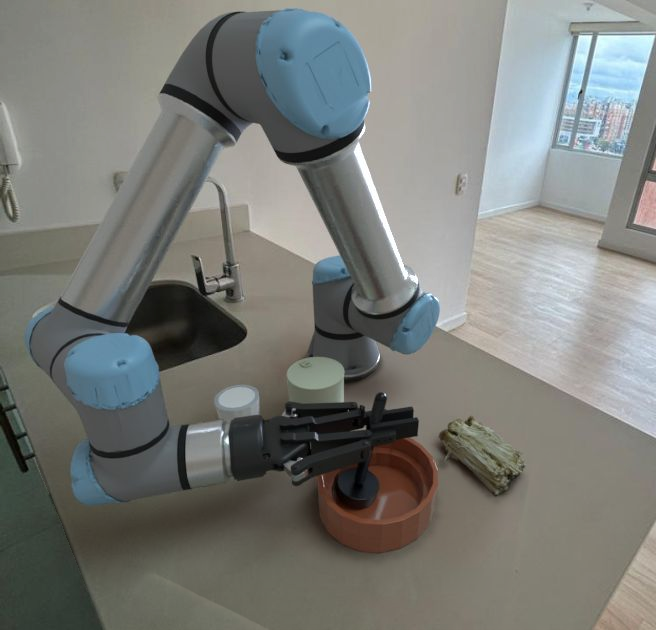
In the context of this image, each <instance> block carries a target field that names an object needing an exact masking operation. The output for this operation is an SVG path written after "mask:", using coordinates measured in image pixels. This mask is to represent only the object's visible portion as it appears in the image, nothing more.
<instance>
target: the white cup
mask: <svg viewBox="0 0 656 630" xmlns="http://www.w3.org/2000/svg"><path fill="white" fill-rule="evenodd" d="M213 405H214V408H215V411H216V414H217V417H218V420H219V419H224V420H226V421H227V423H231V420H233V419H234V418H237V417H245V416H252V415H260V391H259V390H258V389H257V388H256V387H254V386H252V385H249V384H235V385H231V386H228V387H225V388H223V389H222V390H220V391H219V392H217V393H216V395H215V397H214V398H213Z"/></svg>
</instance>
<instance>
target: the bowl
mask: <svg viewBox="0 0 656 630" xmlns="http://www.w3.org/2000/svg"><path fill="white" fill-rule="evenodd" d="M360 441H361V440H360ZM357 465H358V464H354V465H351V466H348V467H345V468H341V469H338V470H335V471H331V472H328V473H325V474H322V475H318V476H316V477H317V497H318V498H317V503H318V512H319V518H320V520H321V522H322V524H323V526H324V528H325V530H326V532H327V533H328V534H330V536H332V537H333V538H334V539H335V540H336V541H337V542H338V543H340V545H343V546H345V547H348V548H351V549H354V550H355V551H358V552H364V553H373V554H374V553H375V554H382V553H386V552H392V551H396V550H400V549H402V548H404V547H405V546H407V545H410V544H411V543H412V542H415V541H416V540H417V539H418V538H420V536H421V535H422V534H423V533H424V532H425V531H426V530H427V529H428V528H429V526H430V523H431V521H432V520H433V519H432V518H433V517H434V514H435V509H436V502H437V496H438V486H439V470H438V467H437V464H436V462H435V460H434V457H433V456H432V455H431V453H430V452H429V450H427V448H426V447H425V446H424V445H423V444H421V443H420V442H418V441H416V440H414V439H413V438H412V437H410V438H404V439H398V440H396V441H395V442H393V443H389V444H383V445H378V446H374V450H373V453H372V457H371V461H370V464H369V468H368V471H370V472H372V473H373V474H374V475H375V476H376V477H377V479H378V481H379V490H378V494H377V497H376V499H375V501H374V502H373V503H372V504H371V505H369V506H367V507H363V508H355V507H350V506H348V505H346V504H344V503H343V502H342V501H341V500H340V499H339V498H338V496H337V494H336V485H337V481H338V477H339V475H340V474H341V473H342V472H343V471H345V470H346V469H349V468H356V467H357Z"/></svg>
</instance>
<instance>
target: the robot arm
mask: <svg viewBox="0 0 656 630" xmlns="http://www.w3.org/2000/svg"><path fill="white" fill-rule="evenodd" d="M371 92H372V78H371V72H370V68H369V64H368V61H367V58H366V56H365V53H364V51H363V49H362V47H361V45H360V44H359V42H358V41H357V38H356V37H355V36H354V35H353V33H352V31H350V30H349V28H348V27H346V26H345V25H344V24H343V23H341V22H340V21H339V20H336V19H335V18H333V16H330V15H328V14H325V13H323V12H318V11H309V10H305V9H303V8H297V7H296V8H290V7H288V8H284V9H277V10H276V9H275V10H260V11H229V12H225V13H223V14H220V15H217V16H216V17H214V18H213V19H211V20H209V21H208V22H207V23H206V24H204V26H202V27H201V28H200V29H199V30H198V31H197V32H196V34H195V35H194V36H193V38H192V39H191V40H190V41H189V43H188V44H187V45H186V47H185V48H184V50H183V51H182V53H181V55H180V56H179V58H178V59H177V62H176V63H175V65H174V67H173V68H172V70H171V72H170V73H169V75H168V77H167V79H166V80H165V82H164V84H163V86H162V88H161V89H160V91H159V93H158V95H157V100H158V101H157V102H159V106H160V109H161V112H160V113H159V115H158V117H157V119H156V120H155V122H154V124H153V126H152V128H151V130H150V132H149V133H148V135H147V137H146V139H145V141H144V143H143V145H142V146H141V149H140V150H139V152H138V153H137V154H136V155H137V156H136V157H135V159H134V161H133V163H132V164H131V167H130V169H129V170H128V172H127V174H126V176H125V177H124V179H123V181H122V183H121V185H120V187H119V188H118V190H117V192H116V194H115V196H114V197H113V199H112V201H111V203H110V205H109V207H108V208H107V210H106V212H105V214H104V216H103V218H102V219H101V221H100V223H99V225H98V226H97V229H96V230H95V233H94V234H93V236H92V238H91V240H90V242H89V243H88V245H87V247H86V249H85V250H84V253H83V255H82V256H81V258H80V260H79V262H78V264H77V265H76V267H75V269H74V271H73V272H72V275H71V276H70V278H69V280H68V282H67V284H66V285H65V287H64V289H63V291H62V293H61V295H60V297H59V298H58V300H57V302H56V303H55V305H54V306H51V307H49V308H45V309H44V310H42V311H40V312H39V313H37V314H36V315H35V316H33V317H32V318H31V319H30V320H29V321H28V323H27V325H26V326H25V329H24V334H23V339H24V340H23V341H24V345H25V347H26V349H27V350H28V354H29V356H30V358H31V360H32V362H34V363H35V365H36V366H37V367H38V368H39V369H40V370H42V371H43V372H44V373H45V374H46V375H47V377H49V378H50V380H51V381H52V382H53V384H54V385H55V386H56V387H57V389H58V390H59V391H60V393H62V395H63V396H64V398H66V400H67V401H68V402H69V403H70V405H72V407H73V408H74V409H75V410H76V413H77V414H78V417H79V418H80V421H81V423H82V426H83V429H84V431H85V434H86V437H87V438H85V439H84V440H82V441H80V442H79V444H78V445H77V446H76V448H75V449H74V452H73V454H72V458H71V462H70V468H69V469H70V470H69V476H70V478H71V490H72V494H73V495H74V498H75V499H76V500H77V501H78V502H79V503H81V504H82V505H84V506H100V505H108V504H117V503H119V504H125V503H129V502H132V501H135V500H140V499H144V498H145V499H146V498H150V497H155V496H161V495H166V494H171V493H176V492H182V491H189V490H194V489H200V488H205V487H211V486H217V485H223V484H227V483H228V482H230V479H231V477H233V479H234V481H235V480H236V481H237V482H241V481H247V480H252V479H258V478H262V477H264V476H266V474H267V472H271V471H273V472H279V473H281V472H282V473H283V472H285V473H286V474H287V475H288V477H290V479H291V485H293V487H299V486H301V485H303V484H304V483H306V482H308V481H310V479H312V478H315V477H317V476H318V475H322V474H325V473H328V472H331V471H335V470H338V469H341V468H345V467H348V466H351V465H354V464H358V463H361V462H364V461H367V460H368V459H369V454H370V453H371V448H372V447H373V446H378V445H383V444H389V443H393V442H395V441H396V440H398V439H404V438H416V437H418V436H419V435H418V434H419V424H420V419H419V418H418V416H416V417H414V413H415V410H414V407H413V406H406V407H398V408H393V409H392V408H391V409H387V408H385V409H384V413H383V416H382V420H381V423H376V424H370V430H367V426H368V422H369V418H370V414H371V410H367V411H366V406H365V405H363V404H359V405H358V403H357V402H356V401H344V402H336V403H308V404H302V403H297V402H292V401H289V400H288V401H286V402H285V403H284V411H283V412H282V414H280V415H276V416H274V417H270V418H269V419H265V418H264V417H263V416H262V415H261V414H259V415H252V416H245V417H237V418H234V419H233V420H231V423H227V421H226V420H224V419H219V418H218V419H214V420H207V421H200V422H192V423H188V424H178V425H170V419H169V415H168V410H167V405H166V402H165V396H164V391H163V387H162V383H161V377H160V376H161V372H160V367H159V363H158V362H157V361H156V357H155V355H154V352H153V349H152V346H151V345H150V343H149V342H148V341H147V340H146V339H145V338H143V337H141V336H139V335H137V334H132V335H130V334H129V333H126V331H127V328H128V327H129V324H130V322H131V320H132V319H133V317H134V315H135V313H136V311H137V309H138V308H139V306H140V303H141V302H142V300H143V298H144V297H145V295H146V293H147V291H148V289H149V287H150V286H151V284H152V281H153V280H154V278H155V276H156V275H157V272H158V271H159V268H160V267H161V265H162V263H163V261H164V259H165V257H166V255H167V253H168V252H169V250H170V248H171V246H173V245H172V244H173V243H174V241H175V239H176V237H177V235H178V234H179V231H180V229H181V228H182V226H183V224H184V223H185V221H186V219H187V217H188V215H189V213H190V211H191V209H192V208H193V206H194V204H195V202H196V201H197V198H198V196H199V194H200V193H201V191H202V189H203V187H204V186H205V184H206V181H207V180H208V178H209V176H210V174H211V172H212V170H213V169H214V167H215V165H216V163H217V161H218V159H219V157H220V156H221V154H222V152H223V150H224V149H228V148H233V147H235V146H236V145H237V143H238V141H239V139H240V137H241V135H242V134H243V133H244V131H245V130H246V129H247V128H249V126H251V125H252V124H256V125H260V128H262V131H263V132H264V134H265V136H266V138H267V140H268V142H269V144H270V146H271V148H272V149H273V151H274V153H275V155H276V157H277V159H278V160H279V161H280V162H281V163H284V164H285V165H288V166H289V165H290V166H293V167H296V170H297V172H298V174H299V175H300V178H301V180H302V182H303V183H304V186H305V187H306V189H307V192H308V194H309V196H310V198H311V200H312V201H313V204H314V206H315V208H316V210H317V212H318V214H319V216H320V218H321V220H322V222H323V224H324V227H325V228H326V230H327V232H328V234H329V236H330V238H331V240H332V243H333V244H334V246H335V248H336V250H337V252H338V254H339V255H332V256H328V257H325V258H323V259H320V260H318V261H317V262H316V263H315V264H314V267H313V269H312V280H311V285H312V303H313V322H314V330H313V333H312V336H311V339H310V342H309V345H308V349H307V352H306V358H310V357H326V358H331V359H334V360H336V361H338V362H339V363H340V364H341V365H342V366H343V368H344V371H345V373H344V382H351V381H352V382H353V381H358V380H361V379H363V378H367V377H368V376H370V375H371V374H373V373H374V372H375V371H376V370H377V369H378V367H379V364H380V351H379V347H378V344H377V343H379V344H381V345H383V346H385V347H387V348H388V349H390V350H391V351H392V352H397V353H400V354H402V355H404V356H405V355H411V354H414V353H416V352H419V351H420V350H421V349H422V348H423V347H424V346H425V345H426V344H427V342H428V341H429V339H430V338H431V336H432V334H433V333H434V331H435V329H436V326H437V324H438V321H439V317H440V313H441V305H440V301H439V299H438V298H437V297H436V296H434V295H433V294H432V293H430V292H426V291H424V290H423V289H422V288H421V286H420V283H419V279H418V276H417V274H416V273H415V271H414V269H412V268H411V267H410V266H409V265H407V264H404V263H403V261H402V258H401V256H400V253H399V250H398V247H397V244H396V242H395V239H394V235H393V234H392V231H391V228H390V225H389V222H388V220H387V217H386V214H385V212H384V211H385V210H384V208H383V205H382V203H381V200H380V197H379V194H378V192H377V191H378V190H377V189H376V186H375V183H374V181H373V178H372V176H371V172H370V170H369V167H368V164H367V161H366V159H365V155H364V153H363V149H362V147H361V144H360V139H361V138H362V136H363V134H364V132H365V131H366V121H365V118H366V116H367V114H368V111H369V108H370V103H371V100H370V99H369V97H368V94H369V93H371ZM364 428H365V429H364ZM360 440H361V441H360Z"/></svg>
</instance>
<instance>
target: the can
mask: <svg viewBox="0 0 656 630" xmlns="http://www.w3.org/2000/svg"><path fill="white" fill-rule="evenodd" d="M344 373H345V371H344V368H343V366H342V365H341V364H340V363H339V362H338V361H336V360H334V359H331V358H326V357H310V358H307V357H305V358H302V359H300V360H297V361H296V362H294V363H292V364H291V365H290V366H289V368H288V369H287V371H286V381H287V391H288V402H289V401H292V402H297V403H302V404H308V403H336V402H345V395H344V394H345V381H344Z"/></svg>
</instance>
